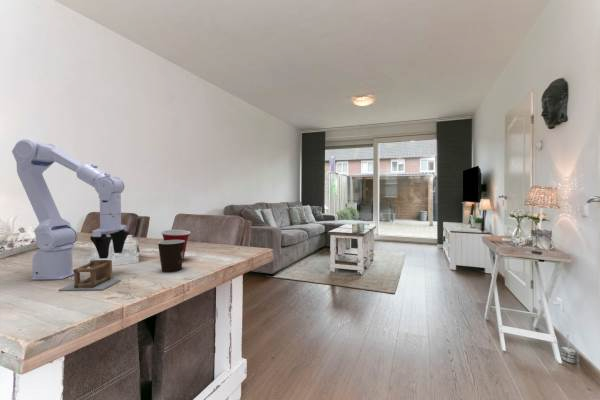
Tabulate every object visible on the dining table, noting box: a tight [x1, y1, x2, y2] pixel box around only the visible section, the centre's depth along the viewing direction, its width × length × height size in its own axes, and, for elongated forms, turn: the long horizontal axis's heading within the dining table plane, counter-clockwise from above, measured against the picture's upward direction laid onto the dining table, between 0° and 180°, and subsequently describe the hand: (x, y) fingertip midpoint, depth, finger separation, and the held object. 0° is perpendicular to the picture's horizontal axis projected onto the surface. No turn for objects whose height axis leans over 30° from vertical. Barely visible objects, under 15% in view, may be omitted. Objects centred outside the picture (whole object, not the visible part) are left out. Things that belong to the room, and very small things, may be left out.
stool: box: [73, 259, 113, 288], centre depth 83 cm, size 6×6×8 cm
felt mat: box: [57, 279, 122, 292], centre depth 82 cm, size 12×8×1 cm
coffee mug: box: [157, 240, 185, 273], centre depth 101 cm, size 12×9×10 cm
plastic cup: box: [160, 229, 191, 260], centre depth 112 cm, size 11×11×12 cm
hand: (111, 255), depth 91 cm, fingers open, 7 cm apart
